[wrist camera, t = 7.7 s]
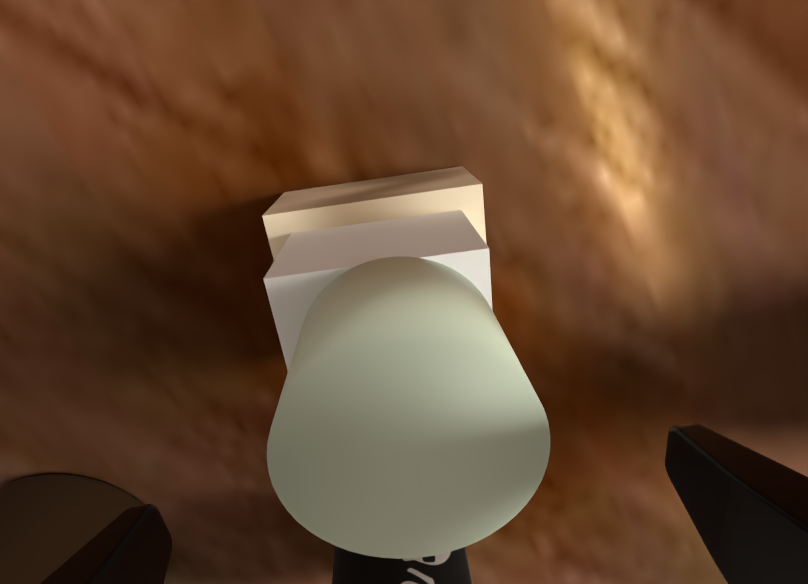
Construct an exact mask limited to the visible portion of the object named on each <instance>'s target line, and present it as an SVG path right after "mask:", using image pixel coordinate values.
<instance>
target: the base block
mask: <svg viewBox="0 0 808 584" xmlns="http://www.w3.org/2000/svg"><path fill="white" fill-rule="evenodd" d="M457 210H462V211H463V213H464V214H465V216H466V217H467V218H468V220H469V221H470V223H471V224H472V225H473V227H474V228H475V230H476V231H477V232H478V234H479V235H480V236H481V238H482V239H483V241H484V242H485V243H486V233H485V218H484V203H483V188H482V183H481V182H480V181H478V180H477V179H476V178H475V177H474V176H473V175H472V174H470V173H469V172H468V171H467V170H466V169H465V168H463V167H462V166H460V167H454V168H447V169H440V170H433V171H426V172H419V173H413V174H406V175H399V176H392V177H385V178H379V179H372V180H365V181H358V182H351V183H344V184H338V185H331V186H324V187H317V188H310V189H303V190H297V191H290V192H284V193H283V194H282V195H281V196H280V197H279V198H278V200H277V201H276V202H275V203H274V204H273V205H272V206H271V207H270V208H269V209H268V210H267V211H266V212H265V213H264V214H263V215H262V217H263V221H264V225H265V229H266V233H267V236H268V240H269V244H270V248H271V252H272V256H273V259H274V261H275V259H276V257H277V256H278V254H279V252H280V251H281V249H282V248H283V246H284V244H285V243H286V241H287V239H288V238H289V236H290V234H291V233H295V232H302V231H310V230H317V229H324V228H332V227H339V226H346V225H354V224H361V223H368V222H376V221H383V220H391V219H398V218H405V217H413V216H420V215H427V214H435V213H442V212H450V211H457Z"/></svg>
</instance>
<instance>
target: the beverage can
mask: <svg viewBox="0 0 808 584" xmlns="http://www.w3.org/2000/svg"><path fill="white" fill-rule="evenodd" d="M332 584H472V579H471V574H470V569H469V564H468V559H467V554H466V548H465V547H463V548H460V549H457V550H454V551H451V552H448V553H443V554H438V555H434V556H428V557H420V558H403V559H396V558H381V557H374V556H367V555H363V554H359V553H355V552H351V551H348V550H345V549H342V548H340V547H337V546H335V556H334V567H333V578H332Z"/></svg>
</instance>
